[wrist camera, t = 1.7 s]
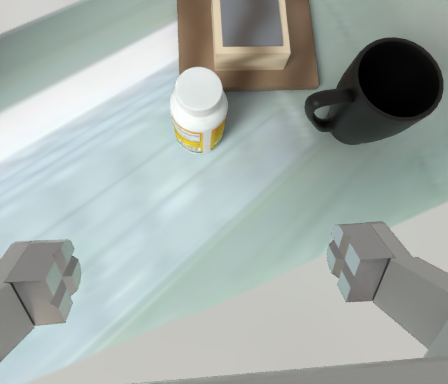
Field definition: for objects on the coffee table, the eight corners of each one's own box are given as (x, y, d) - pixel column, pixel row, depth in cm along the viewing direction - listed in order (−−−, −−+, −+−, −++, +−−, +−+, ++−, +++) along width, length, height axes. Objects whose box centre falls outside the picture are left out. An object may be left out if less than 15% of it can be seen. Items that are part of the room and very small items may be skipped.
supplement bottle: (182, 160, 35) (174, 125, 25) (170, 116, 36) (158, 67, 26) (229, 148, 35) (238, 109, 26) (215, 105, 36) (220, 52, 27)
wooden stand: (180, 91, 36) (177, 70, 32) (177, 2, 39) (174, -29, 34) (315, 89, 37) (330, 68, 33) (305, 2, 40) (317, -28, 36)
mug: (277, 101, 37) (301, 49, 28) (372, 85, 38) (427, 30, 29) (294, 168, 35) (326, 137, 26) (393, 149, 37) (457, 113, 27)
